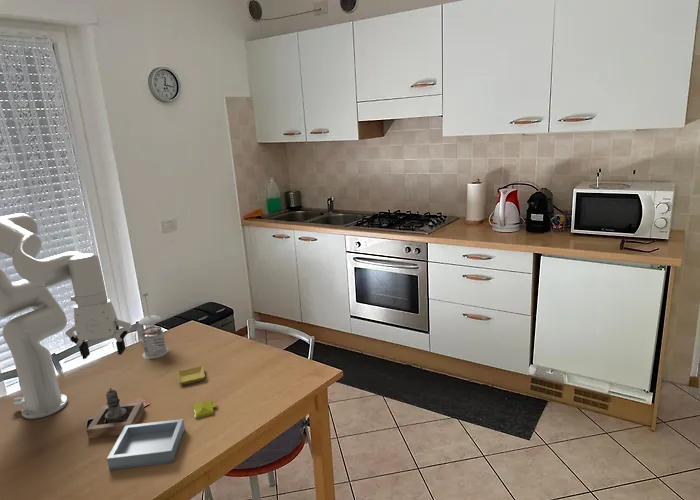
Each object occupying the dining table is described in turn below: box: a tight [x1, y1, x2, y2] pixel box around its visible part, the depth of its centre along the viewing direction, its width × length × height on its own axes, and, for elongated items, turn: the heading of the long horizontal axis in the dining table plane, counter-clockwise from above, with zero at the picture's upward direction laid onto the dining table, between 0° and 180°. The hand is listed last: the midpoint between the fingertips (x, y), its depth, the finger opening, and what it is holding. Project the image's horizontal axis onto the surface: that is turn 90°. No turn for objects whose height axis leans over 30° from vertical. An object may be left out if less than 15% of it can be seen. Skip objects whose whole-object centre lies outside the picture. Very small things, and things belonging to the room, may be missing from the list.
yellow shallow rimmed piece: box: [177, 365, 206, 386], centre depth 167 cm, size 9×9×2 cm
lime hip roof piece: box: [191, 399, 218, 419], centre depth 148 cm, size 10×9×3 cm
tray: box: [106, 418, 186, 471], centre depth 131 cm, size 16×14×4 cm
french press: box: [134, 291, 170, 360], centre depth 184 cm, size 10×12×25 cm
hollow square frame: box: [86, 400, 145, 440], centre depth 143 cm, size 12×12×3 cm
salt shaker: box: [105, 387, 128, 424], centre depth 142 cm, size 6×6×12 cm
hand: (104, 354), depth 137 cm, fingers open, 9 cm apart
